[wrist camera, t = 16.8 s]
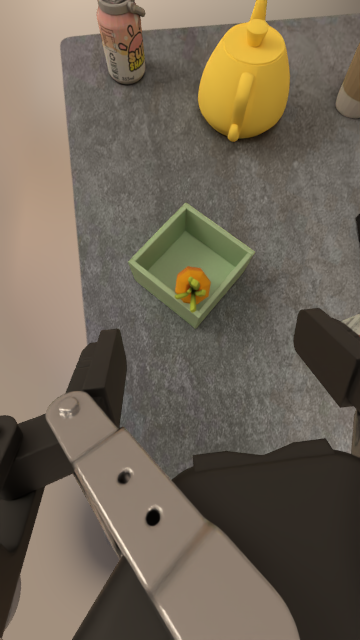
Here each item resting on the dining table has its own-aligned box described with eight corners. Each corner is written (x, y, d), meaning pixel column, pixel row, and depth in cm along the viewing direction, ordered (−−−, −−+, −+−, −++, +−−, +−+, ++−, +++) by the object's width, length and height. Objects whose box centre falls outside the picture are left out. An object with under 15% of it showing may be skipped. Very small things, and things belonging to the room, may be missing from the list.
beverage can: (126, 51, 60) (114, -30, 48) (156, 66, 59) (151, -13, 47) (101, 76, 58) (82, -3, 46) (131, 92, 57) (120, 15, 45)
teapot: (209, 60, 59) (218, -35, 46) (287, 72, 58) (319, -20, 45) (187, 146, 53) (190, 64, 40) (274, 161, 52) (307, 83, 39)
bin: (195, 329, 43) (198, 318, 37) (134, 280, 45) (127, 261, 39) (244, 271, 46) (255, 251, 39) (184, 227, 48) (185, 202, 41)
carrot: (194, 294, 46) (201, 323, 31) (169, 280, 45) (165, 302, 30) (210, 269, 44) (224, 287, 30) (184, 254, 43) (187, 265, 29)
